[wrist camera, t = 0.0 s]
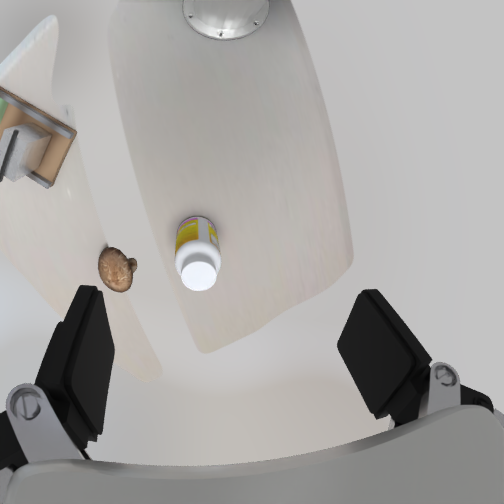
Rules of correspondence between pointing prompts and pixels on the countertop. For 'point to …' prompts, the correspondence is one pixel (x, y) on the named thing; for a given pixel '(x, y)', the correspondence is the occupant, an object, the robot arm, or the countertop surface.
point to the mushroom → (116, 269)
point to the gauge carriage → (22, 150)
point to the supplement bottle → (197, 253)
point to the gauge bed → (21, 112)
